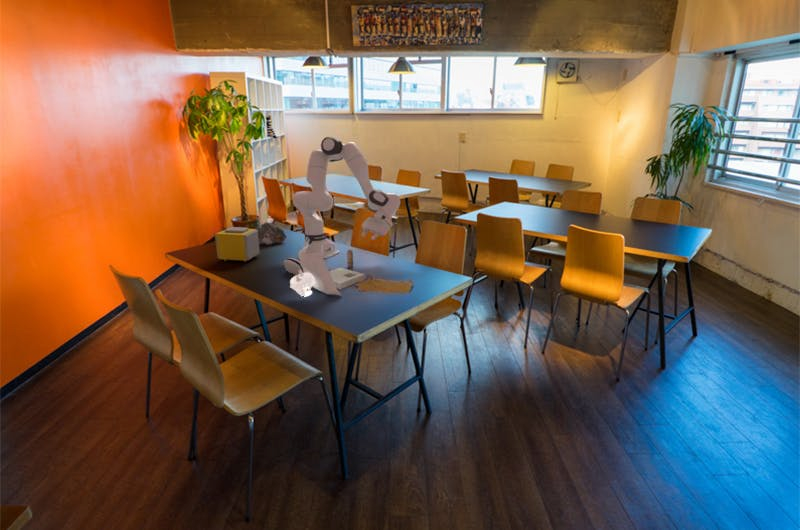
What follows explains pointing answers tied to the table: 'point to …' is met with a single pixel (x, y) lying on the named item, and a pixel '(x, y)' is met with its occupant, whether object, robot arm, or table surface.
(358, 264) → the table surface
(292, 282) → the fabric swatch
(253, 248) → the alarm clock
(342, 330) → the table surface
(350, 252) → the beech dowel
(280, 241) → the rock
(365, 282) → the leather hide
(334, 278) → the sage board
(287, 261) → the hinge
